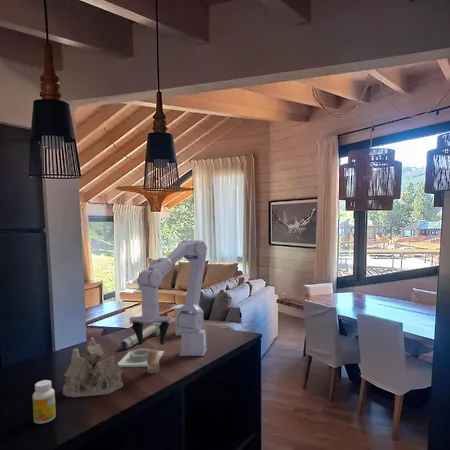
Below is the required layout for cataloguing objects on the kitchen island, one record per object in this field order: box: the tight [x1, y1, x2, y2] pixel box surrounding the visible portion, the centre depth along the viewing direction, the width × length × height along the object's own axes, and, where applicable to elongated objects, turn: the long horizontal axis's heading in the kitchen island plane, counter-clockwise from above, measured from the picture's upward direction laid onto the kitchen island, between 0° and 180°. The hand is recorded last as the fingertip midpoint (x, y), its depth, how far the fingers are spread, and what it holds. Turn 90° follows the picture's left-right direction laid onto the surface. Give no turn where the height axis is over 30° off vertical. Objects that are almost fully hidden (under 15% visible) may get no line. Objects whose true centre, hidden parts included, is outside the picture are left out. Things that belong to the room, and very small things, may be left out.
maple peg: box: [146, 349, 160, 375], centre depth 130 cm, size 4×4×7 cm
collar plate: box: [117, 348, 165, 368], centre depth 142 cm, size 14×14×3 cm
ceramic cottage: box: [62, 336, 124, 398], centre depth 119 cm, size 16×16×15 cm
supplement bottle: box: [32, 379, 57, 425], centre depth 101 cm, size 5×5×10 cm
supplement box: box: [173, 303, 193, 336], centre depth 173 cm, size 7×7×13 cm
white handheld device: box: [119, 323, 161, 350], centre depth 165 cm, size 5×7×25 cm
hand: (151, 343), depth 130 cm, fingers open, 7 cm apart
